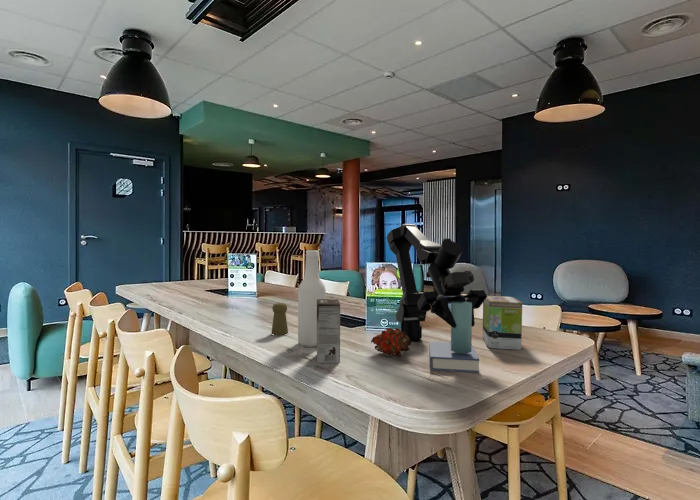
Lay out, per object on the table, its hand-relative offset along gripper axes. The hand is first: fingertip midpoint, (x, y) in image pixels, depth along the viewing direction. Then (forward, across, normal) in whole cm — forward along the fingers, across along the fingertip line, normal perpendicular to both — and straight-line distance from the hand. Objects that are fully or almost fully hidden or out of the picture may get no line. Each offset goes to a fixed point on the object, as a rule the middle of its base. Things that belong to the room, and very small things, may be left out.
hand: (464, 326), depth 102 cm
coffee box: (-5, -32, +21) cm, 38 cm away
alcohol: (-17, -33, +33) cm, 50 cm away
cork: (-29, -41, +45) cm, 68 cm away
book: (+4, 0, +12) cm, 12 cm away
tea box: (-6, +26, +22) cm, 34 cm away
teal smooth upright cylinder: (+4, 0, +6) cm, 7 cm away
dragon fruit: (-4, -13, +20) cm, 24 cm away
